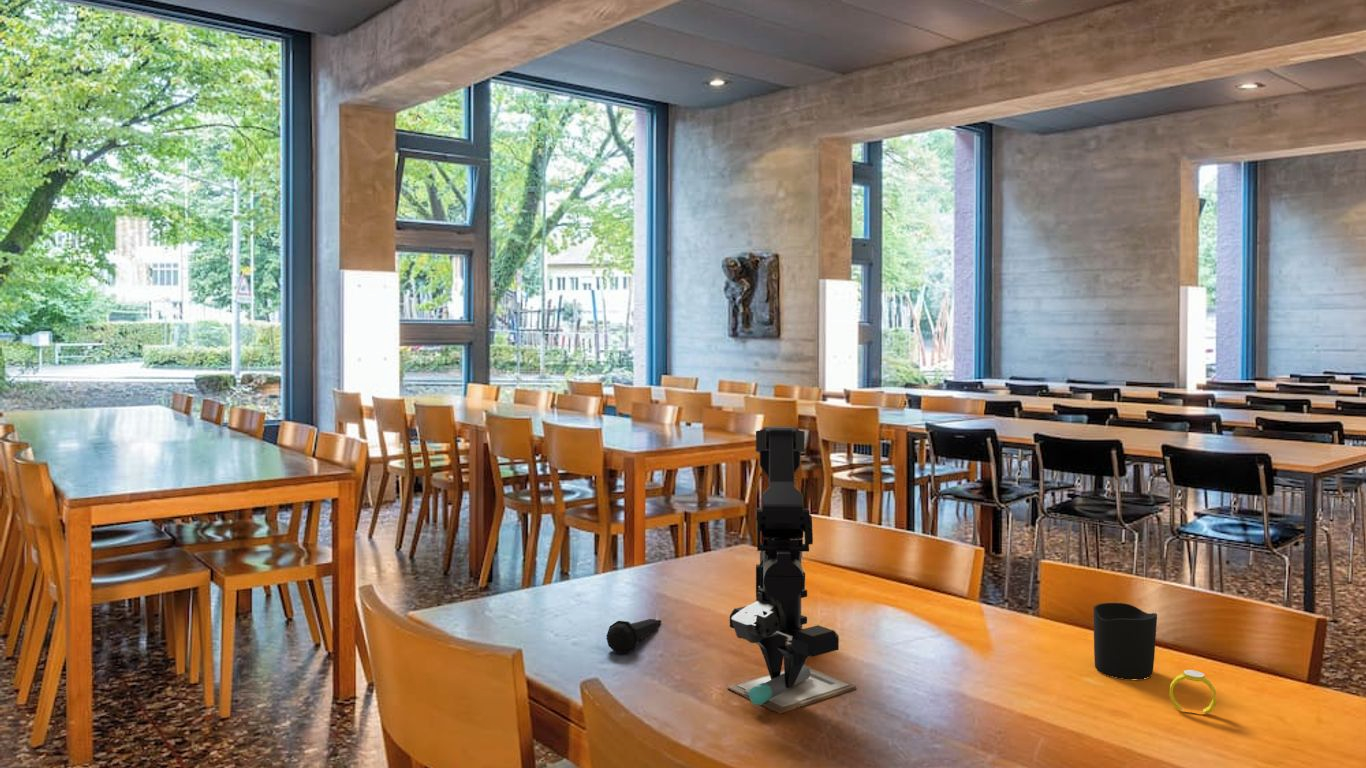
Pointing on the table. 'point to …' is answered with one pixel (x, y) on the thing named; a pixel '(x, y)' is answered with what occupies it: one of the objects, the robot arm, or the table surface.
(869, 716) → the table surface
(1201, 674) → the watch
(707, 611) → the table surface
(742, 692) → the clipboard
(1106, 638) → the pen holder
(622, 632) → the microphone
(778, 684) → the marker
